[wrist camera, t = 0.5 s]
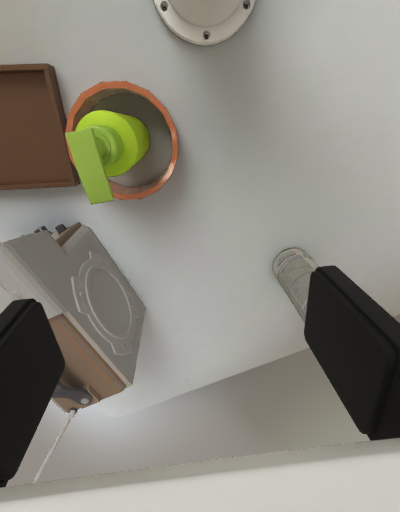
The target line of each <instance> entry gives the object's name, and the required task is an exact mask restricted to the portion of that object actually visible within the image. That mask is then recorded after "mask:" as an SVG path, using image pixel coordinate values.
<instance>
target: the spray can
mask: <svg viewBox="0 0 400 512" xmlns="http://www.w3.org/2000/svg"><path fill="white" fill-rule="evenodd" d="M317 267H320V266H319V265H318V264H317V263H316V262H315V261H314V260H313V259H312V258H311V257H310V256H309V255H308V254H307V253H306V252H305V251H303V250H301V249H298V248H291V249H287V250H284V251H283V252H281V253H280V254H279V255H278V256H277V257H276V259H275V261H274V264H273V271H274V274H275V276H276V278H277V279H278V281H279V283H280V284H281V286H282V287H283V289H284V291H285V292H286V294H287V295H288V297H289V299H290V300H291V302H292V304H293V305H294V307H295V308H296V310H297V311H298V313H299V315H300V316H301V318H302V320H303V321H304V323H305V319H306V310H307V301H308V291H309V282H310V275H311V273H312V272H315V269H316V268H317Z"/></svg>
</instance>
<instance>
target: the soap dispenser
mask: <svg viewBox="0 0 400 512" xmlns="http://www.w3.org/2000/svg"><path fill="white" fill-rule="evenodd" d="M65 134H66V138H67V141H68V144H69V147H70V150H71V153H72V157H73V160H74V163H75V166H76V169H77V171H78V174H79V177H80V180H81V182H82V185H83V187H84V189H85V192H86V194H87V196H88V198H89V200H90V203H91V204H97V203H103V202H108V201H113V200H114V195H113V192H112V189H111V186H110V183H109V180H108V177H113V176H118V175H121V174H123V173H125V172H126V171H128V170H129V169H130V168H131V167H132V166H133V165H135V164H136V163H137V162H138V161H139V160H140V159H141V158H142V157H144V156H145V154H146V153H147V151H148V149H149V145H150V136H149V133H148V130H147V128H146V127H145V125H144V124H143V123H142V122H141V121H140V120H139V119H137V118H135V117H133V116H129V115H124V114H120V113H115V112H110V111H105V110H99V111H94V112H91V113H89V114H87V115H85V116H84V117H83V118H82V119H81V120H80V122H79V123H78V125H77V127H76V130H75V131H73V132H67V133H65ZM107 176H108V177H107Z"/></svg>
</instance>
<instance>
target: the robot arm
mask: <svg viewBox="0 0 400 512" xmlns="http://www.w3.org/2000/svg"><path fill="white" fill-rule="evenodd" d="M153 1H154V4H155V6H156V9H157V11H158V13H159V15H160V16H161V18H162V20H163V21H164V23H165V24H166V25H167V26H168V27H169V29H170V30H171V31H172V32H173V33H175V34H176V35H177V36H178V37H180V38H181V39H183V40H185V41H187V42H189V43H193V44H196V45H213V44H218V43H220V42H222V41H224V40H226V39H228V38H229V37H231V36H232V35H233V34H235V33H236V32H237V31H238V29H239V28H240V27H241V26H242V25H243V24H244V22H245V21H246V19H247V18H248V16H249V14H250V12H251V10H252V9H253V6H254V3H255V0H153ZM244 5H246V6H247V9H244V7H243V6H244ZM163 7H166V8H167V10H166V11H163V10H162V8H163ZM204 35H207V36H208V39H204ZM304 335H305V339H306V342H307V343H308V345H309V347H310V348H311V350H312V352H313V353H314V355H315V357H316V359H317V360H318V362H319V364H320V365H321V367H322V369H323V370H324V372H325V374H326V375H327V377H328V379H329V380H330V382H331V384H332V386H333V387H334V389H335V391H336V392H337V394H338V396H339V397H340V399H341V401H342V403H343V404H344V406H345V408H346V409H347V411H348V413H349V414H350V416H351V418H352V419H353V421H354V423H355V424H356V426H357V428H358V429H359V431H360V432H361V433H363V434H367V435H368V437H369V439H370V441H365V442H355V443H346V444H337V445H328V446H320V447H312V448H303V449H295V450H287V451H279V452H272V453H263V454H255V455H246V456H239V457H231V458H222V459H215V460H207V461H199V462H191V463H184V464H175V465H168V466H160V467H152V468H145V469H137V470H129V471H121V472H114V473H106V474H98V475H91V476H84V477H76V478H69V479H61V480H53V481H46V482H39V483H31V484H24V485H16V486H9V487H5V486H6V484H7V482H8V480H9V479H11V478H13V477H14V475H15V474H16V472H17V470H18V468H19V466H20V464H21V461H22V459H23V457H24V455H25V453H26V451H27V449H28V446H29V444H30V442H31V440H32V438H33V436H34V433H35V431H36V429H37V427H38V425H39V423H40V421H41V418H42V416H43V414H44V412H45V410H46V408H47V405H48V403H49V401H50V399H51V397H52V395H53V393H54V390H55V388H56V386H57V384H58V382H59V380H60V378H61V375H62V373H63V371H64V368H65V359H64V357H63V354H62V352H61V349H60V347H59V344H58V342H57V340H56V337H55V335H54V332H53V330H52V327H51V325H50V323H49V320H48V318H47V315H46V313H45V310H44V308H43V306H42V304H41V303H40V302H37V301H36V300H35V299H33V298H30V299H21V300H14V301H12V302H11V303H10V304H9V305H8V306H7V307H6V308H5V309H4V311H3V312H2V313H1V314H0V512H400V323H399V322H397V321H396V320H395V319H394V318H393V317H392V316H391V315H390V314H389V313H387V312H386V311H385V310H384V309H383V308H382V307H381V306H380V305H379V304H377V303H376V302H375V301H374V300H373V299H372V298H371V297H370V296H369V295H367V294H366V293H365V292H364V291H363V290H362V289H361V288H360V287H358V286H357V285H356V284H355V283H354V282H353V281H352V280H351V279H350V278H348V277H347V276H346V275H345V274H344V273H343V272H342V271H341V270H340V269H338V268H337V267H336V266H323V267H317V268H316V269H315V272H312V273H311V275H310V282H309V291H308V301H307V310H306V319H305V328H304Z"/></svg>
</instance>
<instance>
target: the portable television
mask: <svg viewBox="0 0 400 512" xmlns="http://www.w3.org/2000/svg"><path fill="white" fill-rule="evenodd" d="M55 229H56V230H57V232H58V233H57V232H53V233H51V232H50V231H48V230H47V228H46V227H45V226H43V227H41V228H39V227H38V229H37V230H36V231H34V232H35V233H34V234H30V235H27V236H24V235H22V236H21V237H19V238H17V239H13V240H10V241H7V242H3V243H1V244H0V314H1V313H2V312H3V311H4V309H5V308H6V307H7V306H8V305H9V304H10V303H11V302H12V301H14V300H21V299H30V298H33V299H35V300H36V301H37V302H40V303H41V304H42V306H43V308H44V310H45V313H46V315H47V318H48V320H49V323H50V325H51V327H52V330H53V332H54V335H55V337H56V340H57V342H58V344H59V347H60V349H61V352H62V354H63V357H64V359H65V368H64V371H63V373H62V375H61V378H60V380H59V382H58V384H57V386H56V388H55V390H54V393H53V395H52V397H51V400H52V401H53V402H54V403H55V404H56V405H57V406H58V407H60V408H61V409H62V410H63V411H64V412H68V413H69V412H70V413H69V417H68V419H67V421H66V423H65V425H64V426H63V428H62V430H61V432H60V433H59V435H58V437H57V439H56V440H55V442H54V444H53V446H52V448H51V449H50V451H49V453H48V455H47V456H46V458H45V460H44V462H43V464H42V465H41V467H40V469H39V471H38V472H37V474H36V478H35V480H34V482H33V483H36V481H37V479H38V478H39V477H40V475H41V473H42V471H43V469H44V468H45V466H46V464H47V462H48V460H49V458H50V457H51V455H52V453H53V451H54V449H55V448H56V446H57V444H58V442H59V440H60V439H61V437H62V435H63V433H64V431H65V429H66V427H67V426H68V424H69V422H70V420H71V418H73V417H74V415H75V414H76V412H77V410H78V409H79V408H85V407H87V406H90V405H92V404H95V403H97V402H100V400H102V399H104V398H107V397H109V396H112V395H114V394H117V393H119V392H122V391H123V390H124V389H125V388H127V387H130V386H132V384H133V378H134V372H135V367H136V361H137V355H138V349H139V344H140V338H141V332H142V326H143V321H144V315H145V309H146V307H145V306H144V304H143V303H142V302H141V300H140V299H139V297H138V296H137V294H136V293H135V291H134V290H133V289H132V287H131V286H130V284H129V283H128V281H127V280H126V279H125V277H124V276H123V274H122V273H121V271H120V270H119V269H118V267H117V266H116V264H115V263H114V261H113V260H112V258H111V257H110V256H109V254H108V253H107V251H106V250H105V248H104V247H103V246H102V244H101V243H100V241H99V240H98V238H97V237H96V236H95V234H94V233H93V231H92V230H91V229H90V228H89V227H87V226H83V225H81V223H80V222H79V223H77V224H75V225H73V226H71V227H69V228H67V229H66V227H65V226H64V225H63V224H60V225H58V226H57V227H56V228H55Z"/></svg>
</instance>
